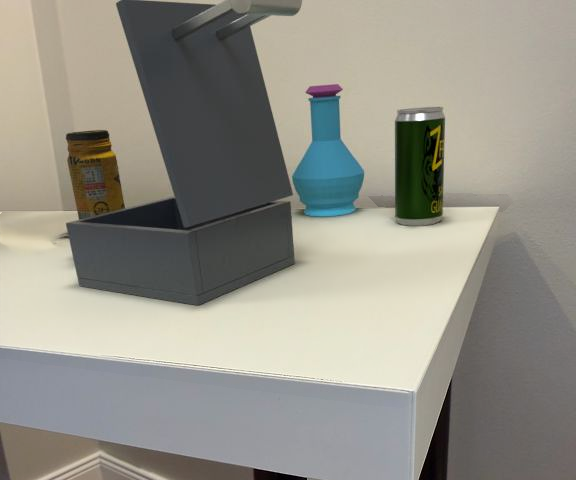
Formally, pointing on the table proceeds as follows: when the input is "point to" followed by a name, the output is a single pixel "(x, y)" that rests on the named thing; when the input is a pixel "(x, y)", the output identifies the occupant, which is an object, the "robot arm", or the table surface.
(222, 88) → the lid
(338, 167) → the perfume bottle
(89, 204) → the condiment
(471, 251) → the table surface
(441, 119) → the beer can
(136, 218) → the gray storage case
